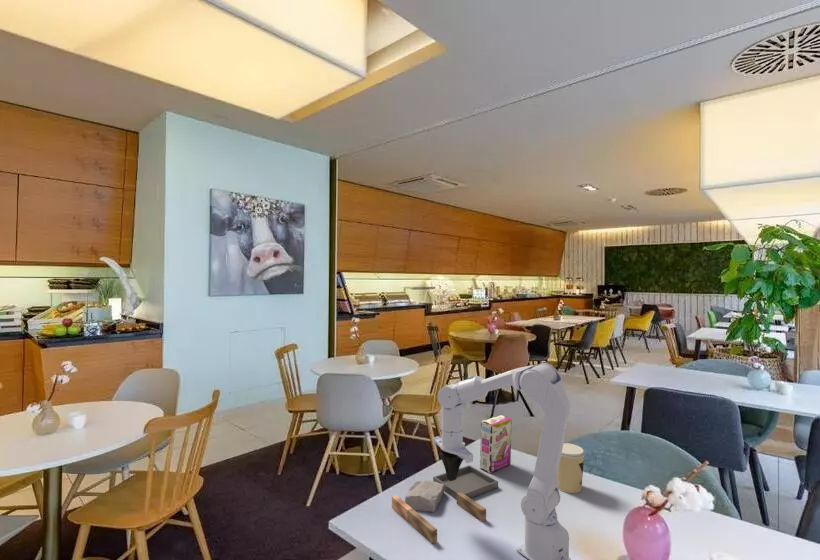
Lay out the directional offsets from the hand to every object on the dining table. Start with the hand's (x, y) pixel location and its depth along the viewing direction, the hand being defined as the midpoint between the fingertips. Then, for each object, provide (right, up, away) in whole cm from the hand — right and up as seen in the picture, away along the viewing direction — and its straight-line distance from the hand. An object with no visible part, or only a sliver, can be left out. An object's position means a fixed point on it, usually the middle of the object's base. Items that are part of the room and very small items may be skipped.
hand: (451, 479), depth 112 cm
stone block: (-7, -11, +9) cm, 16 cm away
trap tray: (+6, -10, +17) cm, 21 cm away
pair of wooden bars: (-4, -10, +2) cm, 11 cm away
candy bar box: (+18, -11, +30) cm, 37 cm away
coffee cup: (+38, -11, +17) cm, 43 cm away
